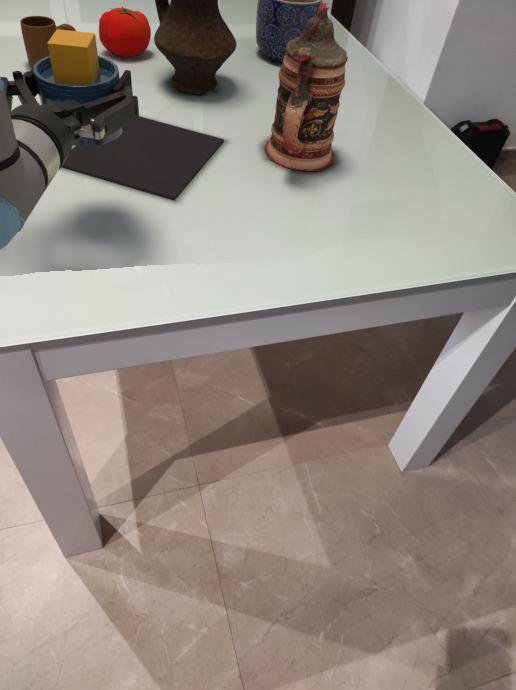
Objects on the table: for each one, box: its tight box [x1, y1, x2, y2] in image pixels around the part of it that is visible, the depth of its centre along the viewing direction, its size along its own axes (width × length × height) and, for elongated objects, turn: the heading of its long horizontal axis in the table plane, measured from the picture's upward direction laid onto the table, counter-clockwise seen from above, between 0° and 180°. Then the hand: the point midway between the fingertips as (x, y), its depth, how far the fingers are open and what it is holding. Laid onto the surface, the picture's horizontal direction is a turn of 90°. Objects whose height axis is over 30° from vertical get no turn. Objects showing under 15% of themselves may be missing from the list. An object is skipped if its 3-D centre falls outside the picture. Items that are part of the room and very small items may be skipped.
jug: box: [153, 0, 237, 95], centre depth 112 cm, size 21×18×30 cm
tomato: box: [98, 5, 152, 58], centre depth 127 cm, size 11×13×10 cm
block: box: [47, 29, 100, 85], centre depth 68 cm, size 5×5×5 cm
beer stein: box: [264, 2, 349, 172], centre depth 97 cm, size 17×28×18 cm
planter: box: [255, 0, 324, 64], centre depth 135 cm, size 16×16×15 cm
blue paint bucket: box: [33, 55, 124, 147], centre depth 72 cm, size 11×11×8 cm
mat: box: [61, 115, 225, 201], centre depth 100 cm, size 24×24×1 cm
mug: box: [19, 15, 77, 69], centre depth 118 cm, size 12×8×9 cm, turn 100°
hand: (88, 74), depth 74 cm, fingers closed on blue paint bucket, 11 cm apart
